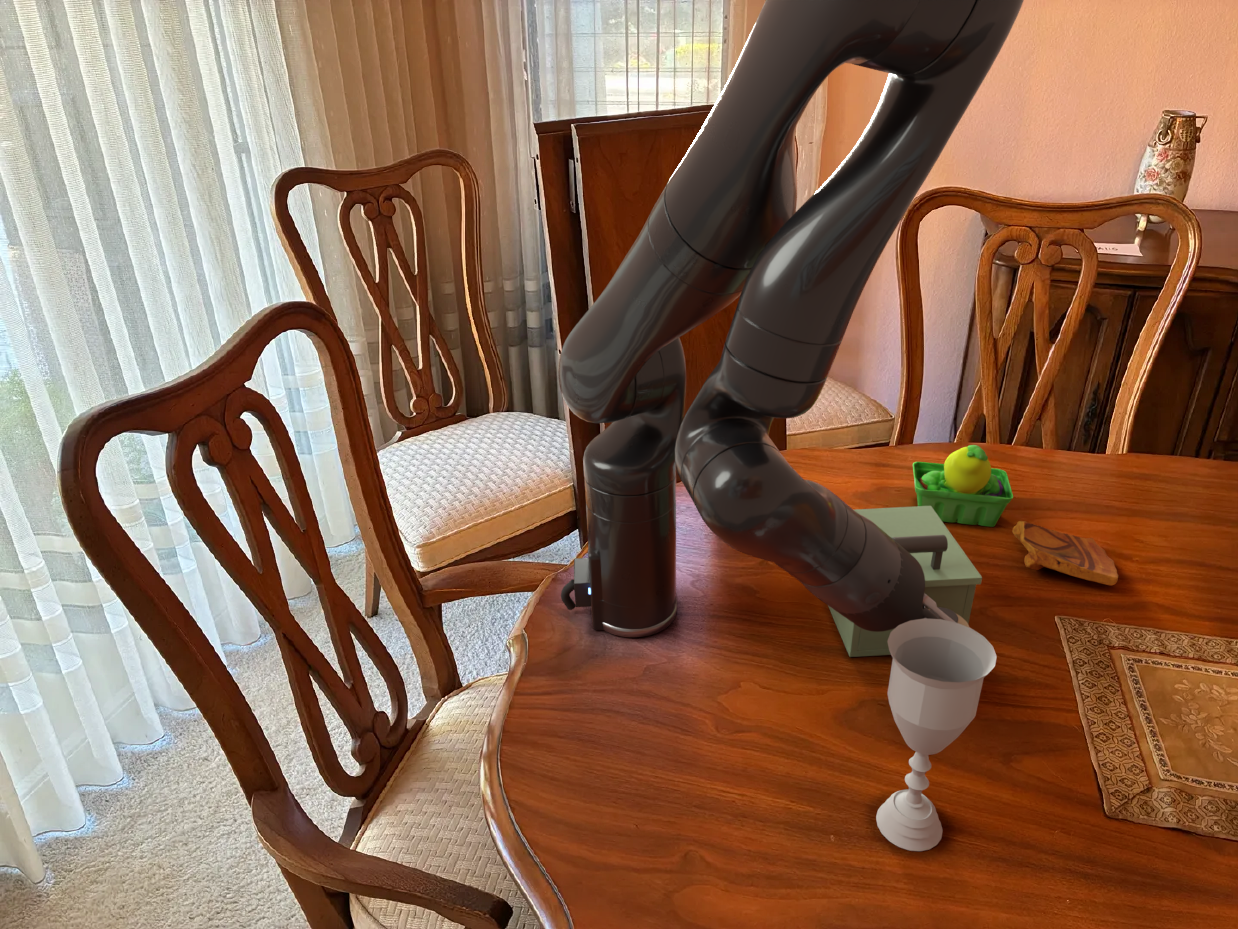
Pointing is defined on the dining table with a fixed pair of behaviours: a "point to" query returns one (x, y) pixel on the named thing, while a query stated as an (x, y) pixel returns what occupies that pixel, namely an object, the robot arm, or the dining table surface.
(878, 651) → the bread box
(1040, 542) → the pottery fragment
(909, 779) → the chalice
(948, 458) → the fruit basket
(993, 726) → the dining table surface
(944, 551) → the bread box lid
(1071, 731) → the dining table surface
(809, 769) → the dining table surface
